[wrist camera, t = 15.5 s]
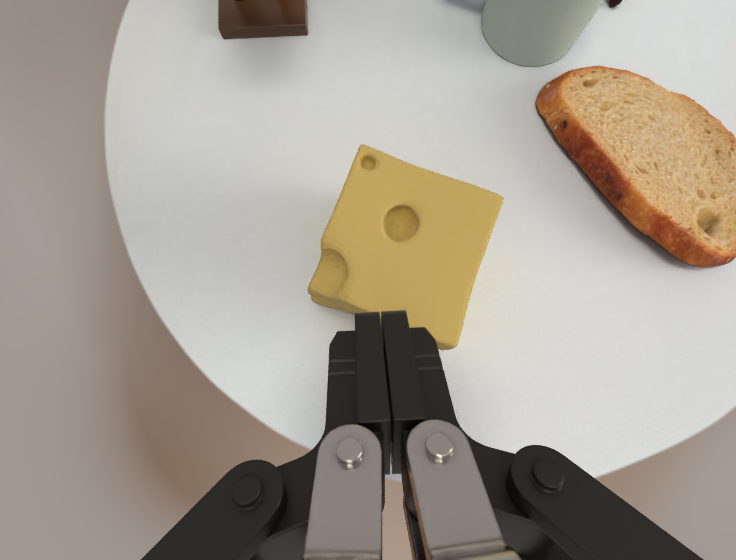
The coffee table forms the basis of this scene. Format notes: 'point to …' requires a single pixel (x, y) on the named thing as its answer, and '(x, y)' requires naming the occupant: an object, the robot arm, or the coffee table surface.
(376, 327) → the robot arm
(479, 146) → the coffee table surface
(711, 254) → the slice of bread
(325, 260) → the cheese
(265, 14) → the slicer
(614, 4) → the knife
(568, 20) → the mug
